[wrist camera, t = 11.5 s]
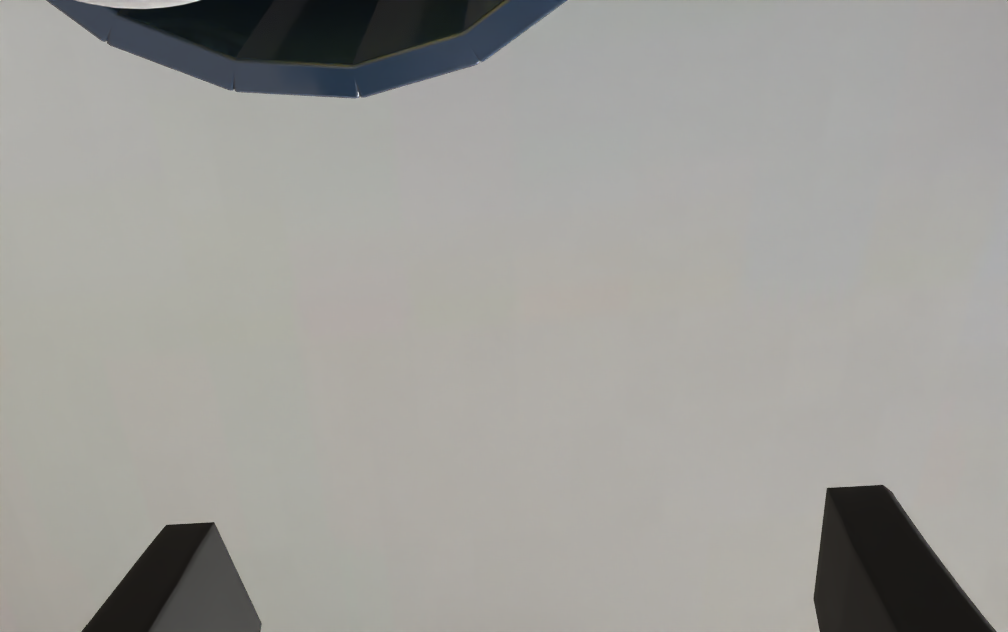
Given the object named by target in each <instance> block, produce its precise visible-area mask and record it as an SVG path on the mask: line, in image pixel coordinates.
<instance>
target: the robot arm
mask: <svg viewBox="0 0 1008 632" xmlns="http://www.w3.org/2000/svg"><path fill="white" fill-rule="evenodd" d="M814 603H815V609H816V614H817V619H818V624H819V629H820V632H996V631H995V629H994V628H993V627H992V626H991V625H990V623H989V622H988V621H987V620H986V619H985V617H984V616H983V615H982V614H981V612H980V611H979V610H978V609H977V607H976V606H975V605H974V603H973V602H972V601H971V600H970V598H969V597H968V596H967V595H966V593H965V592H964V591H963V590H962V588H961V587H960V586H959V584H958V583H957V582H956V580H955V579H954V578H953V576H952V575H951V574H950V572H949V571H948V570H947V569H946V567H945V566H944V565H943V563H942V562H941V561H940V559H939V558H938V557H937V555H936V554H935V553H934V551H933V550H932V548H931V547H930V546H929V544H928V543H927V542H926V540H925V539H924V538H923V536H922V535H921V533H920V532H919V531H918V529H917V528H916V526H915V525H914V524H913V522H912V521H911V519H910V518H909V516H908V515H907V514H906V512H905V511H904V509H903V508H902V506H901V505H900V503H899V502H898V500H897V499H896V497H895V496H894V495H893V493H892V492H891V491H890V490H889V489H887V488H886V487H885V486H884V485H874V486H856V487H838V488H827V492H826V501H825V509H824V517H823V525H822V534H821V542H820V550H819V559H818V567H817V575H816V583H815V592H814ZM260 630H261V621H260V619H259V617H258V615H257V613H256V610H255V608H254V606H253V604H252V602H251V600H250V598H249V596H248V593H247V591H246V589H245V587H244V585H243V583H242V581H241V578H240V576H239V574H238V572H237V570H236V568H235V566H234V564H233V561H232V559H231V557H230V555H229V553H228V551H227V549H226V547H225V544H224V542H223V540H222V538H221V536H220V534H219V532H218V529H217V527H216V525H215V523H214V522H212V523H194V524H176V525H166V526H165V527H164V528H163V529H162V531H161V532H160V533H159V534H158V535H157V537H156V538H155V539H154V540H153V542H152V543H151V544H150V545H149V547H148V548H147V549H146V550H145V552H144V553H143V554H142V555H141V557H140V558H139V559H138V560H137V562H136V563H135V564H134V566H133V567H132V568H131V569H130V571H129V572H128V573H127V574H126V576H125V577H124V578H123V580H122V581H121V582H120V583H119V585H118V586H117V587H116V589H115V590H114V591H113V592H112V594H111V595H110V596H109V597H108V599H107V600H106V601H105V603H104V604H103V605H102V606H101V608H100V609H99V610H98V611H97V613H96V614H95V615H94V616H93V618H92V619H91V620H90V622H89V623H88V624H87V625H86V627H85V628H84V629H83V630H82V632H260Z"/></svg>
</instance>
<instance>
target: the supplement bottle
mask: <svg viewBox="0 0 1008 632" xmlns="http://www.w3.org/2000/svg"><path fill="white" fill-rule="evenodd" d="M76 1H80V2H84V3H89V4H94V5H101V6H107V7H113V8H132V9H151V8H164V7H172V6H178V5H184V4H188V3H192V2H195V1H199V0H76Z"/></svg>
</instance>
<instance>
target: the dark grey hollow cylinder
mask: <svg viewBox="0 0 1008 632" xmlns="http://www.w3.org/2000/svg"><path fill="white" fill-rule="evenodd" d="M46 1H48V2H49V3H51V4H52V5H53V6H55V7H56V8H57V9H59V10H60V11H62V12H63V13H64V14H66V15H67V16H68V17H70V18H71V19H72V20H74V21H75V22H77V23H78V24H79V25H81V26H82V27H83V28H85V29H86V30H87V31H89V32H90V33H92V34H93V35H94V36H96V37H97V38H98V39H100V40H101V41H104V42H106V41H107V44H109V45H110V46H113V47H116V48H118V49H121V50H124V51H126V52H129V53H132V54H134V55H137V56H140V57H142V58H145V59H148V60H150V61H153V62H156V63H158V64H161V65H164V66H166V67H169V68H172V69H174V70H177V71H180V72H182V73H185V74H188V75H190V76H193V77H196V78H198V79H201V80H203V81H206V82H209V83H211V84H214V85H217V86H219V87H222V88H225V89H227V90H235V91H236V92H247V93H265V94H284V95H302V96H321V97H339V98H359V97H360V96H361V97H368V96H371V95H375V94H378V93H381V92H385V91H388V90H392V89H395V88H399V87H402V86H405V85H409V84H412V83H416V82H419V81H423V80H426V79H430V78H433V77H436V76H440V75H443V74H447V73H450V72H454V71H457V70H460V69H464V68H467V67H471V66H474V65H477V64H478V63H479V62H483V61H485V60H487V59H488V58H489V57H491V56H492V55H493V54H495V53H496V52H498V51H499V50H500V49H502V48H503V47H504V46H506V45H507V44H508V43H510V42H511V41H513V40H514V39H515V38H517V37H518V36H519V35H521V34H522V33H523V32H525V31H526V30H528V29H529V28H530V27H532V26H533V25H534V24H536V23H537V22H539V21H540V20H541V19H543V18H544V17H545V16H547V15H548V14H549V13H551V12H552V11H554V10H555V9H556V8H558V7H559V6H560V5H562V4H563V3H564V2H566V1H567V0H199V1H195V2H192V3H188V4H184V5H178V6H172V7H164V8H151V9H132V8H113V7H107V6H101V5H94V4H89V3H84V2H80V1H76V0H46Z"/></svg>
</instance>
